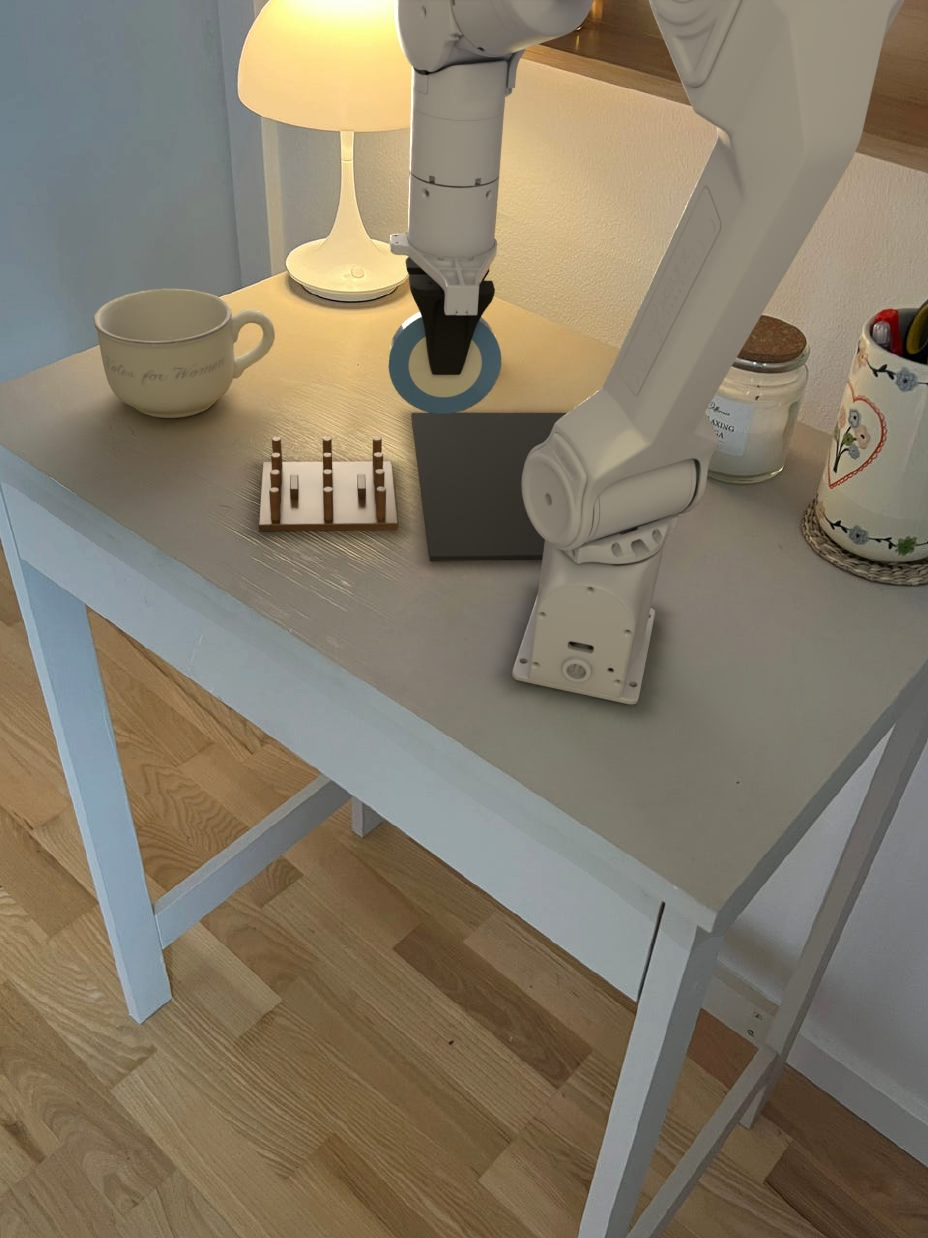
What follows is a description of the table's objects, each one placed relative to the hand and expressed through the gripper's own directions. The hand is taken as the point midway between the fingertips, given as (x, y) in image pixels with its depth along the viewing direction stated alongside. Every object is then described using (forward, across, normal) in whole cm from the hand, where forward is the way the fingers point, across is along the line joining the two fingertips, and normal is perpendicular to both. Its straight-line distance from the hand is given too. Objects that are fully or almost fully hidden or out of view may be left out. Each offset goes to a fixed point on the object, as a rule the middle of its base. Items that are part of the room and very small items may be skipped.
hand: (444, 366), depth 81 cm
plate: (0, 0, 0) cm, 0 cm away
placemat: (+10, -1, +6) cm, 12 cm away
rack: (+10, +1, -8) cm, 13 cm away
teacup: (+10, -14, -20) cm, 26 cm away
